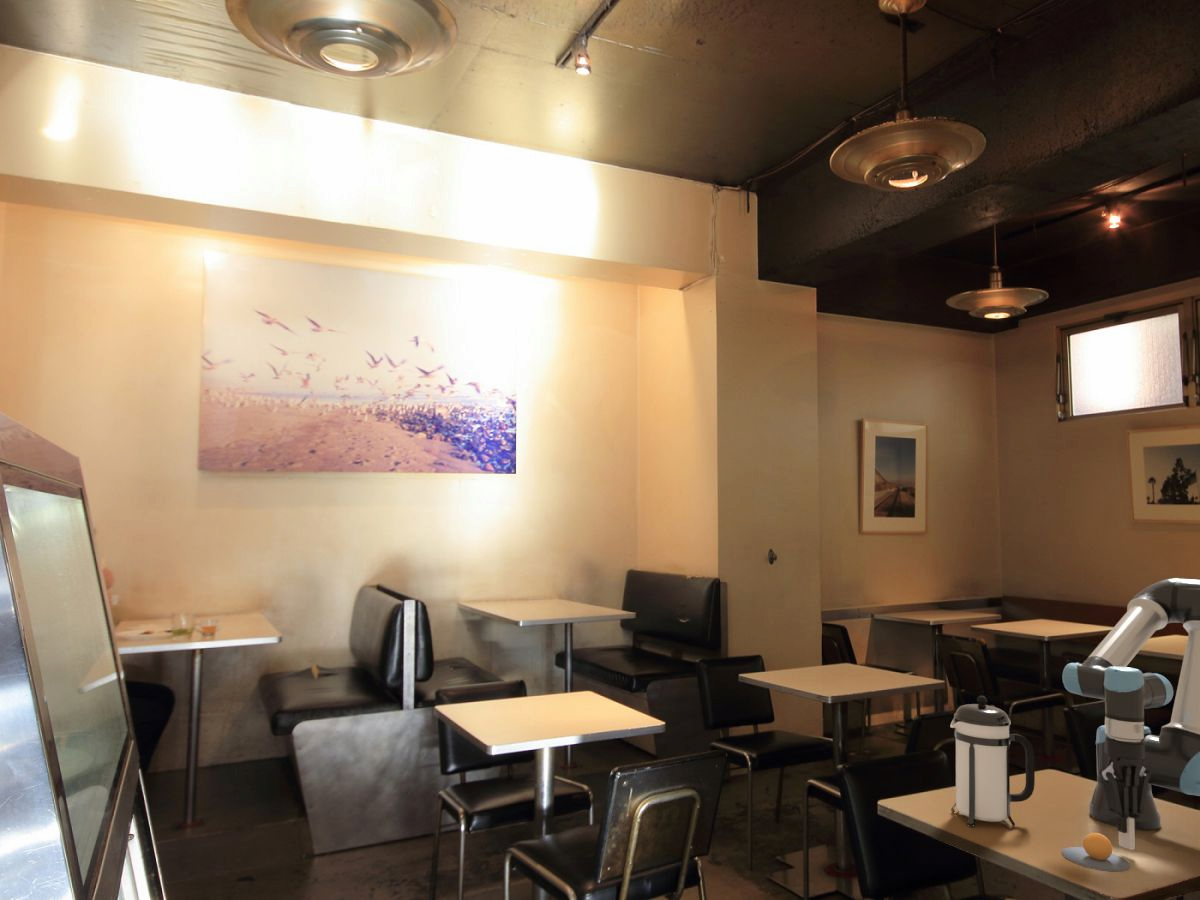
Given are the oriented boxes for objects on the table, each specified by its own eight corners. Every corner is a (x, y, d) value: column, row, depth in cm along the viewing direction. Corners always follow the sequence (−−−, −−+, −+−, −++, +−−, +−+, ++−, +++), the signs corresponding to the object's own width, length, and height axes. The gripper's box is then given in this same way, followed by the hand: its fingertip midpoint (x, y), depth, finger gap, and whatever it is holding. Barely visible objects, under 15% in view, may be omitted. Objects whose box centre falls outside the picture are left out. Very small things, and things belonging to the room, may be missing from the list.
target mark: (1093, 845, 192) (1093, 844, 192) (1145, 868, 180) (1145, 867, 180) (1047, 850, 188) (1047, 849, 188) (1098, 873, 176) (1098, 872, 176)
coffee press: (1003, 837, 195) (1002, 705, 198) (938, 817, 208) (938, 693, 210) (1036, 822, 206) (1035, 698, 209) (972, 804, 219) (972, 687, 221)
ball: (1073, 846, 185) (1089, 859, 187) (1095, 855, 180) (1111, 869, 181) (1084, 824, 187) (1099, 837, 188) (1106, 832, 182) (1122, 846, 183)
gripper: (1117, 743, 183) (1119, 855, 181) (1162, 741, 187) (1164, 851, 185) (1087, 735, 191) (1089, 843, 188) (1131, 732, 194) (1133, 838, 192)
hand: (1126, 846), depth 187 cm, fingers closed
